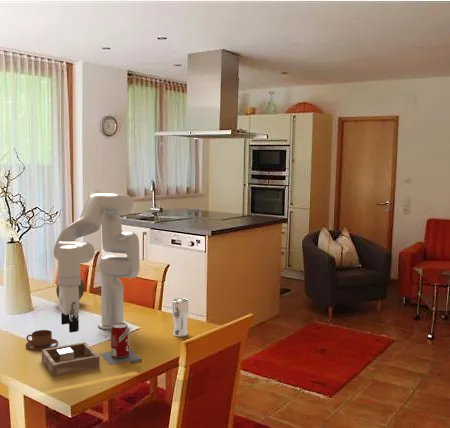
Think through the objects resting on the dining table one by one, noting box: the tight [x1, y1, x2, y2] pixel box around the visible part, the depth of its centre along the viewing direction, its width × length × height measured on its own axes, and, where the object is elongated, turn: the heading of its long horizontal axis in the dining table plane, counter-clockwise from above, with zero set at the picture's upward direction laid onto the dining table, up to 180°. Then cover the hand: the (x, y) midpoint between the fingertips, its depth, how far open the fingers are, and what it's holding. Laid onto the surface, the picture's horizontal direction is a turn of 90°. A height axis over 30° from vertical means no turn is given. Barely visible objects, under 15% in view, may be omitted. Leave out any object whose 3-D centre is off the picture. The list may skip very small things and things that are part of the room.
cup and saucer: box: [25, 329, 59, 352], centre depth 202 cm, size 12×12×6 cm
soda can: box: [110, 323, 130, 359], centre depth 193 cm, size 7×7×12 cm
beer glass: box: [171, 297, 190, 338], centre depth 220 cm, size 7×7×15 cm
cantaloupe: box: [55, 278, 85, 301], centre depth 261 cm, size 14×14×15 cm
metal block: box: [56, 347, 74, 363], centre depth 187 cm, size 5×5×4 cm
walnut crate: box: [41, 342, 100, 377], centre depth 185 cm, size 16×16×5 cm
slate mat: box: [99, 347, 142, 366], centre depth 193 cm, size 12×12×1 cm
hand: (69, 327), depth 184 cm, fingers open, 9 cm apart
